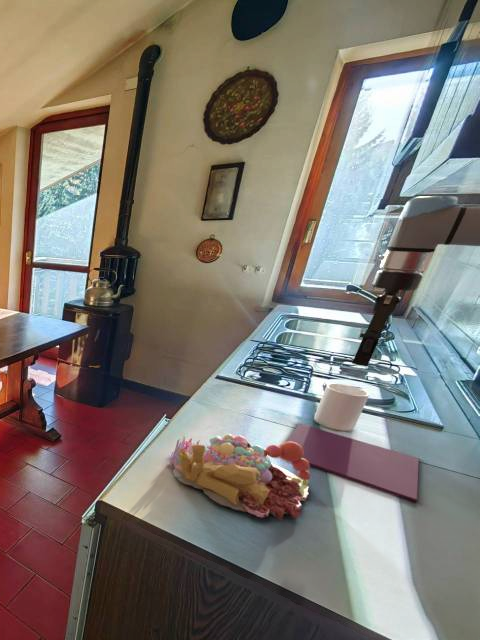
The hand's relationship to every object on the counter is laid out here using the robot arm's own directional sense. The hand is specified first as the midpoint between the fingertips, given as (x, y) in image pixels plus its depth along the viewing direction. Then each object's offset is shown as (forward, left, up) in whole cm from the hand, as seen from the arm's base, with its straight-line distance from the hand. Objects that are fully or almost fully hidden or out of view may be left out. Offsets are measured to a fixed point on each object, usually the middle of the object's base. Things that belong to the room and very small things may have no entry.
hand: (362, 358), depth 97 cm
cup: (0, -2, -19) cm, 19 cm away
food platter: (+10, +49, -19) cm, 53 cm away
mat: (-5, +19, -19) cm, 27 cm away
